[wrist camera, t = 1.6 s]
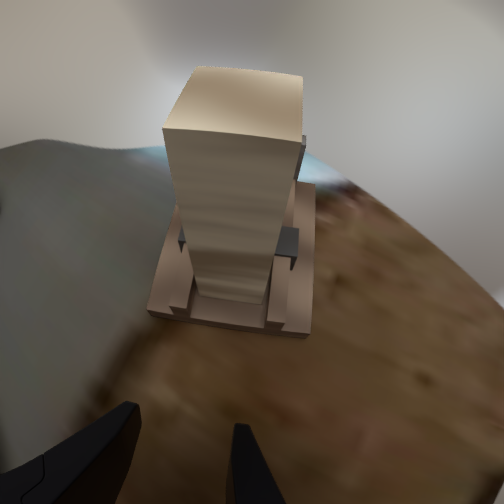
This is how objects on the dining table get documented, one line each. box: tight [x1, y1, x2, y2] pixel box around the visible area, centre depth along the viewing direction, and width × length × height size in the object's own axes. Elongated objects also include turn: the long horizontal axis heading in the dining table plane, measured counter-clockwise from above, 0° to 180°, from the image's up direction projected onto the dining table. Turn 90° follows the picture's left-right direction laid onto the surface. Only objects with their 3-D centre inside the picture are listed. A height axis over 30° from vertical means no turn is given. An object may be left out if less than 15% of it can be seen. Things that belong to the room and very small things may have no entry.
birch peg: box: [162, 66, 303, 305], centre depth 17 cm, size 4×4×15 cm
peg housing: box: [146, 135, 315, 338], centre depth 23 cm, size 14×12×8 cm
